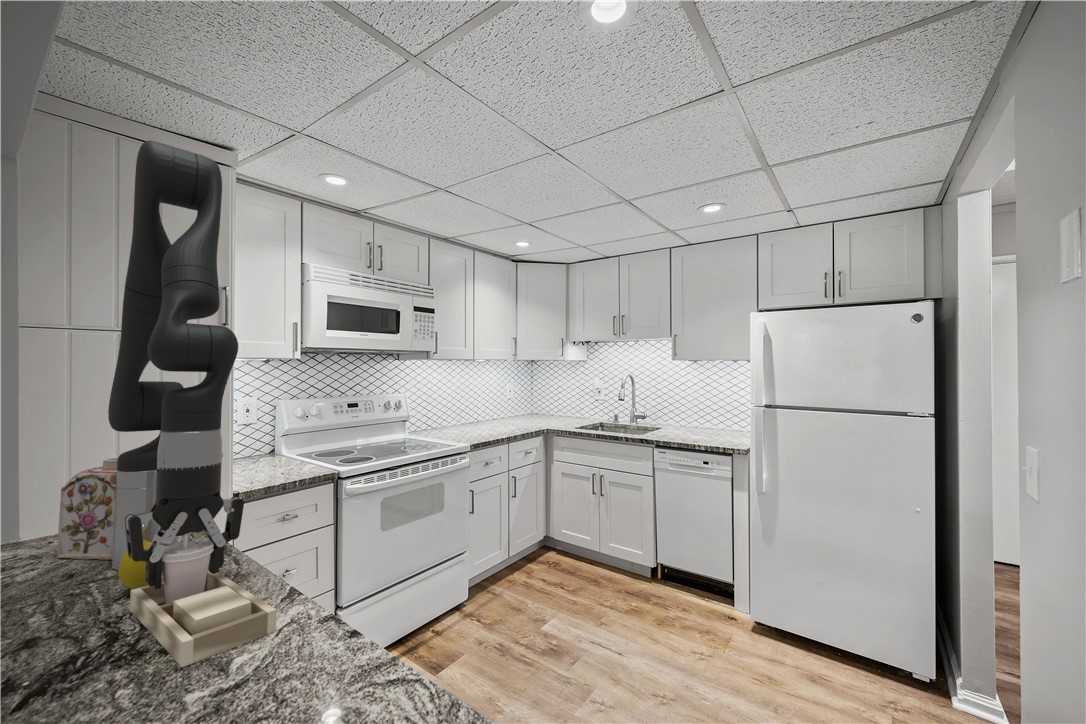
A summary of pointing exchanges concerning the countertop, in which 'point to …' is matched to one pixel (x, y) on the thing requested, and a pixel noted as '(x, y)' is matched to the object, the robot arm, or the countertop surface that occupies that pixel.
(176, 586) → the smoothie
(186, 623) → the offcut top
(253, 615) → the offcut rack
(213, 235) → the robot arm
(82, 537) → the decorative jar
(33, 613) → the countertop surface
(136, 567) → the lemon
